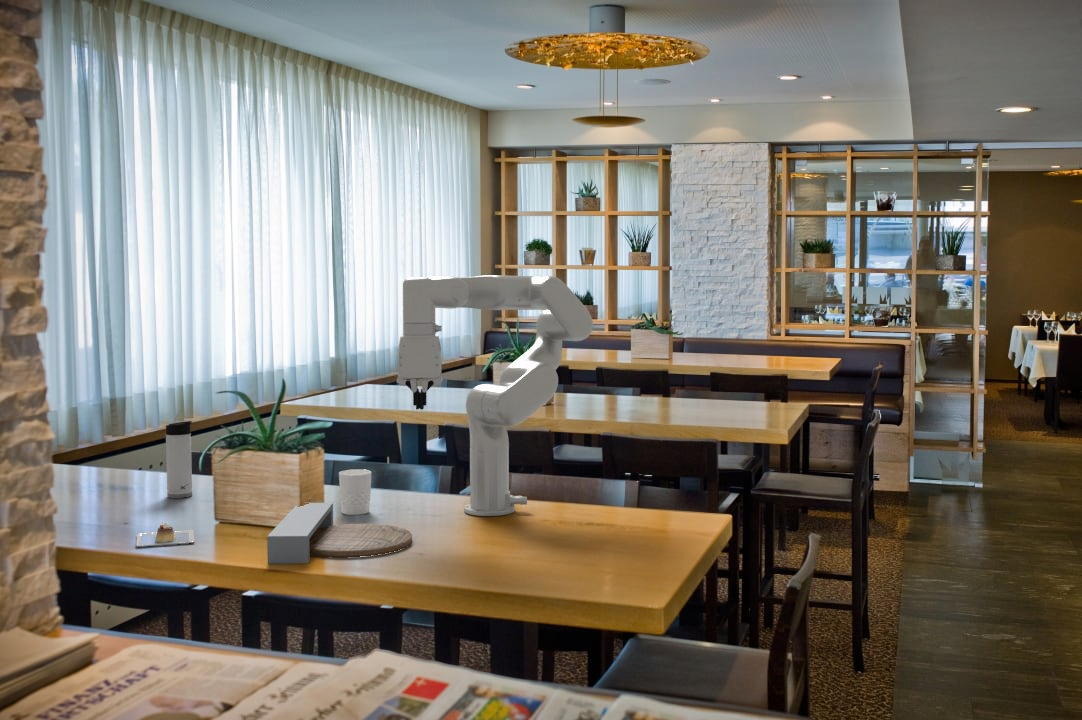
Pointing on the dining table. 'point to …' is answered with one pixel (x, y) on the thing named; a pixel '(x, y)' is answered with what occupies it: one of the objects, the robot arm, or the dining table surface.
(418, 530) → the dining table surface
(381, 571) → the dining table surface
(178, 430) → the travel mug
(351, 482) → the white cup
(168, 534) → the dessert
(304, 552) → the bridge
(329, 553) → the trivet
